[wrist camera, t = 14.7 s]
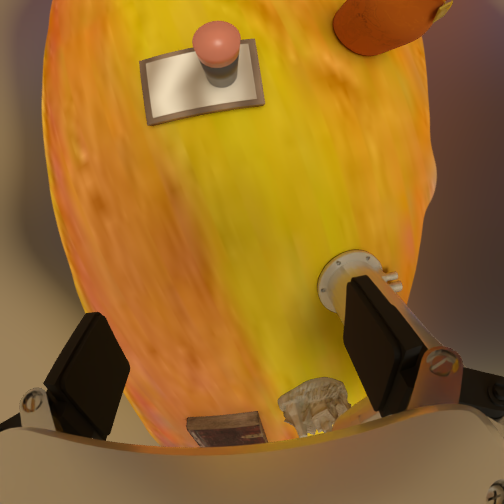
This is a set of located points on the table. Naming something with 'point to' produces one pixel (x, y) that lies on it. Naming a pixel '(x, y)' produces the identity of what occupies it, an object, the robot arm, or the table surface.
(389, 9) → the wine bottle
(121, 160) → the table surface
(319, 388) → the miniature castle
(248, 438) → the hardback book
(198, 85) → the picture frame
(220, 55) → the marker
